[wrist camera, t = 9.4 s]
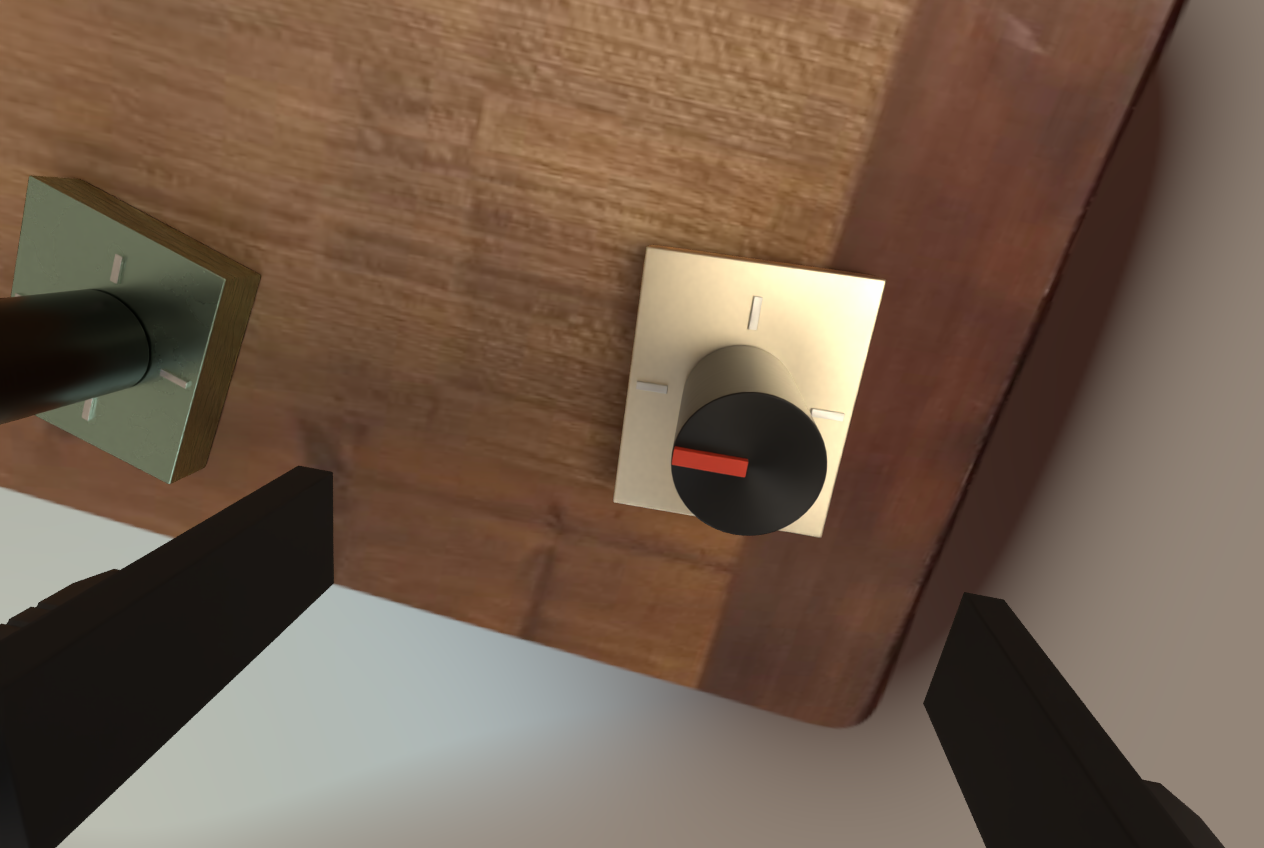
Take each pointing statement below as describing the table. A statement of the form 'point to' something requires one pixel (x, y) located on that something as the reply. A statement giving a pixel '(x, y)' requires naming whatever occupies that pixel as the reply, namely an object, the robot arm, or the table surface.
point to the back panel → (141, 320)
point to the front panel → (740, 315)
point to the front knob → (746, 444)
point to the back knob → (66, 350)
